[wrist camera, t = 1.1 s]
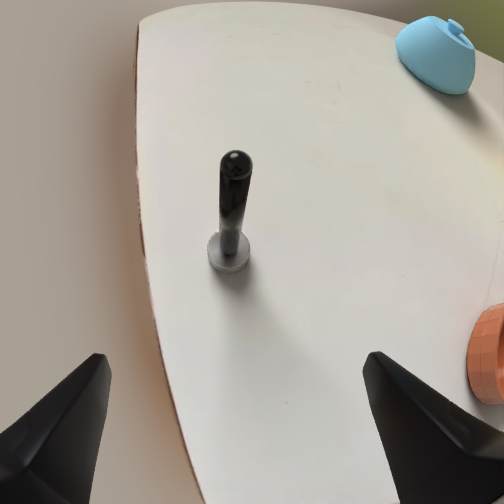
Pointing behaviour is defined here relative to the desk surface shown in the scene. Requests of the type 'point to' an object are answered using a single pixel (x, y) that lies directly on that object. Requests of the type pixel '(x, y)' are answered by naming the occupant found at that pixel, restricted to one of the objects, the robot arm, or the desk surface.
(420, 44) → the sugar bowl
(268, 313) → the desk surface
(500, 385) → the bowl
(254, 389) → the desk surface
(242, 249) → the black rod on stand
